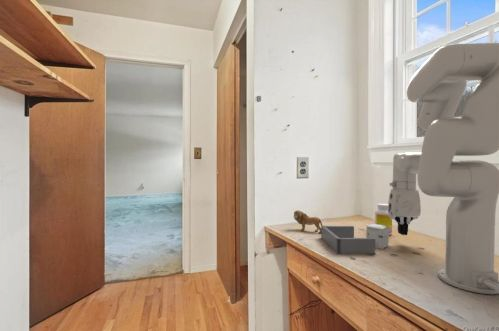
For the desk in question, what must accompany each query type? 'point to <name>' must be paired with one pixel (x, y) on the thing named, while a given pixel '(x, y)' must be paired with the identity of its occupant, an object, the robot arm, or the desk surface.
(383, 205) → the supplement bottle
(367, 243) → the grey u-shaped bracket
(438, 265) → the desk surface
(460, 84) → the robot arm
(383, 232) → the skincare box
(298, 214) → the lion figurine
